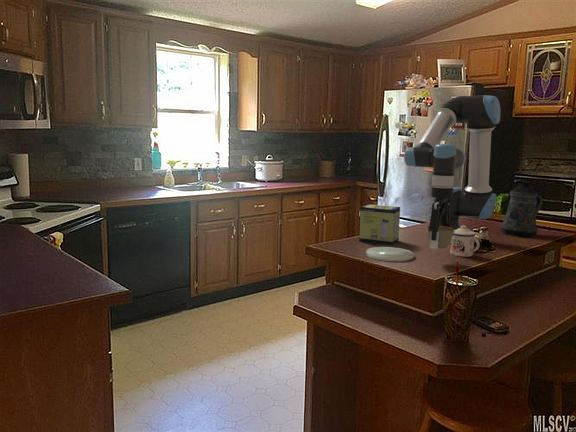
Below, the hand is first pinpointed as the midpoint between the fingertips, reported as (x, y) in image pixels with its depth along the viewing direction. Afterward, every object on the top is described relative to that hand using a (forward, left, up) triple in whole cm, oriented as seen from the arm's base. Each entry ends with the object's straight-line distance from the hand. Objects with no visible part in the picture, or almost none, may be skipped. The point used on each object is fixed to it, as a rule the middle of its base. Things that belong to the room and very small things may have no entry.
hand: (438, 246), depth 188 cm
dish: (+2, -18, -6) cm, 19 cm away
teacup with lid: (-19, +5, -6) cm, 20 cm away
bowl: (0, 0, -1) cm, 1 cm away
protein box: (-21, -33, -6) cm, 39 cm away
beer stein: (-84, +14, -6) cm, 85 cm away
